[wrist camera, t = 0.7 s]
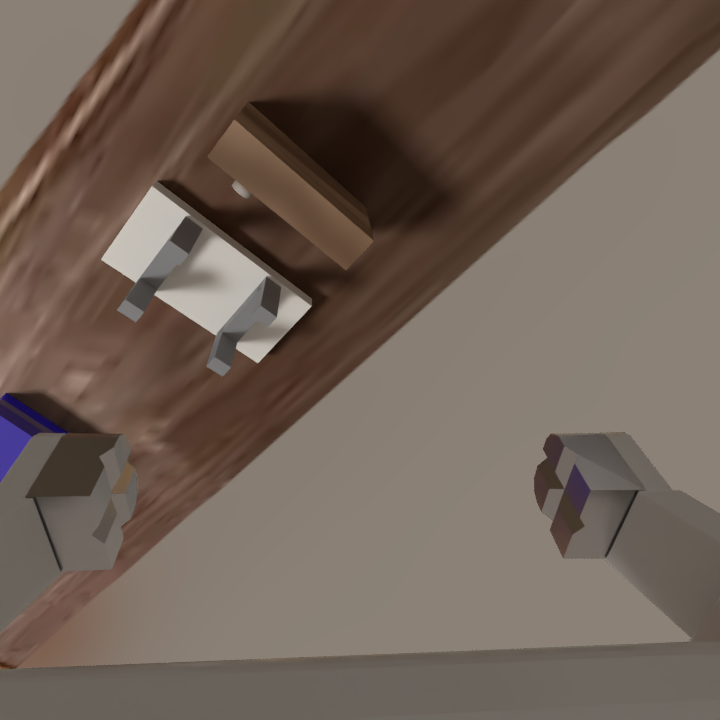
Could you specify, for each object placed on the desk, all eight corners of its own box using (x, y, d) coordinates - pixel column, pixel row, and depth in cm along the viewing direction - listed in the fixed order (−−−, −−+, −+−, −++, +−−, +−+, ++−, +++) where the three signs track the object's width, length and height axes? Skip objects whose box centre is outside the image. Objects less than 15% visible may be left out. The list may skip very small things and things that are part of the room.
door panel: (248, 101, 40) (234, 119, 33) (365, 207, 45) (373, 241, 38) (218, 143, 41) (198, 168, 35) (334, 241, 46) (337, 279, 40)
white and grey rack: (157, 180, 42) (130, 207, 37) (312, 298, 49) (310, 337, 43) (107, 252, 45) (75, 288, 39) (259, 354, 52) (251, 398, 46)
